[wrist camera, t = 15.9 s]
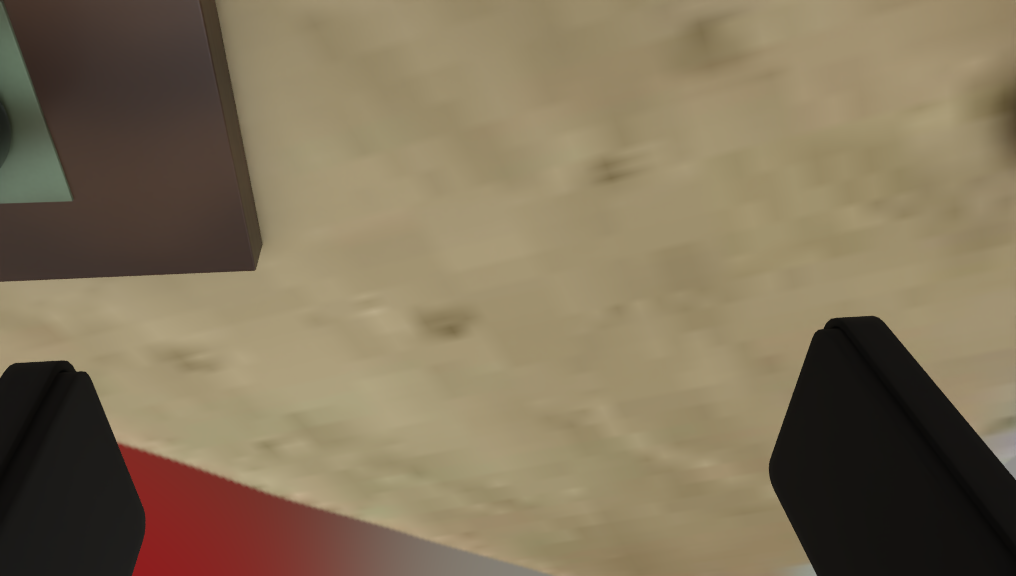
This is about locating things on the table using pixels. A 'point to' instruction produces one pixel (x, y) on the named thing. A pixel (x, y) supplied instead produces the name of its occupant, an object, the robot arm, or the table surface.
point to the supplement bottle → (4, 135)
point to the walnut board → (120, 142)
